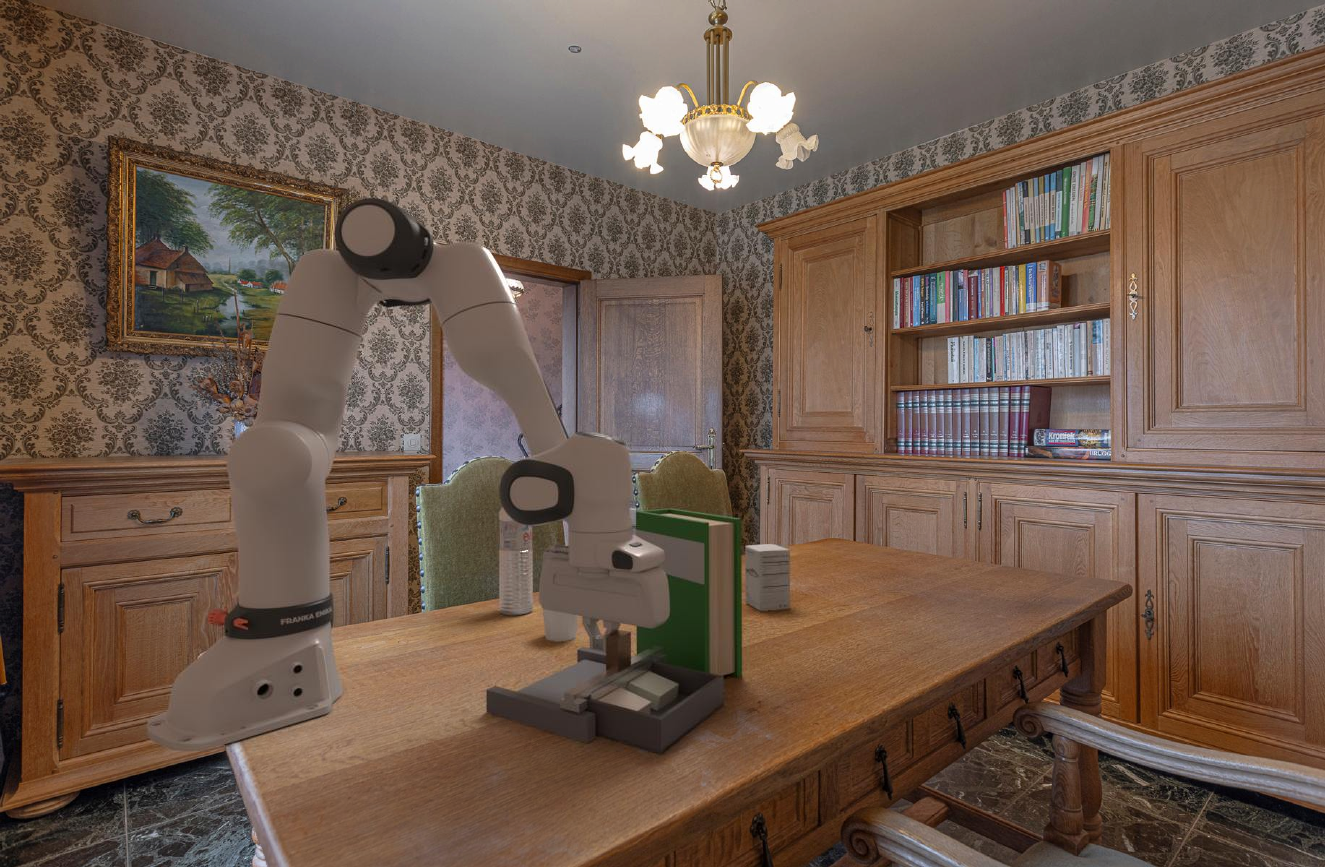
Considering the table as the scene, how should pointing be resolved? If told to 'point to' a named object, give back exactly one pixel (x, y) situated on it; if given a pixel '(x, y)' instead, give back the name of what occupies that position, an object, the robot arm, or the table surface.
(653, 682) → the sage tile
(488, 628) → the table surface
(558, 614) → the white cup
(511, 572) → the water bottle
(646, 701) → the cream tile
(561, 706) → the bar
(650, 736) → the box
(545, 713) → the grey railed tray
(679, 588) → the hardback book
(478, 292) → the robot arm
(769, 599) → the supplement box
